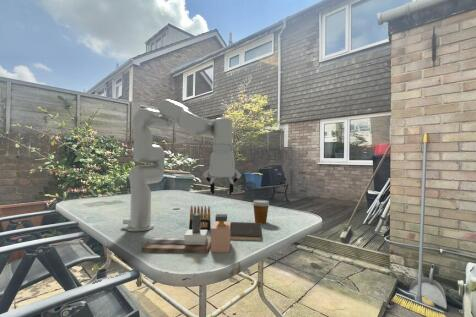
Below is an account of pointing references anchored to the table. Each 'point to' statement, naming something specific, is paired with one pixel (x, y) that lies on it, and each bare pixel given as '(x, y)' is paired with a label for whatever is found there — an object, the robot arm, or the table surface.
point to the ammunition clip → (206, 219)
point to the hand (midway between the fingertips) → (221, 193)
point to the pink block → (220, 237)
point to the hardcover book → (245, 231)
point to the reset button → (221, 219)
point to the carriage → (195, 233)
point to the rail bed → (174, 246)
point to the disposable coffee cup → (260, 210)
